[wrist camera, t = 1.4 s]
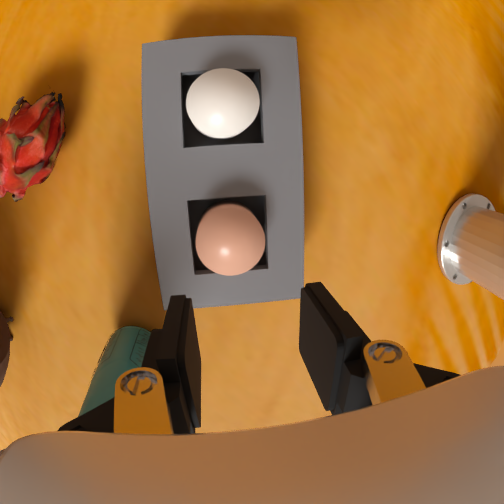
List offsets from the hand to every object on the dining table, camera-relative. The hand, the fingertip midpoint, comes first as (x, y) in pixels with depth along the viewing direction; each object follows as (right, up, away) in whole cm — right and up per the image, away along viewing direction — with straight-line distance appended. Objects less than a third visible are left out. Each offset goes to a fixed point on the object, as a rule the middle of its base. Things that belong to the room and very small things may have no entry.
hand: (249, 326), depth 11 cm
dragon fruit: (-22, +14, +13) cm, 29 cm away
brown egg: (-2, +5, +14) cm, 15 cm away
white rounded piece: (-2, +14, +11) cm, 18 cm away
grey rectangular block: (-3, +11, +17) cm, 20 cm away
